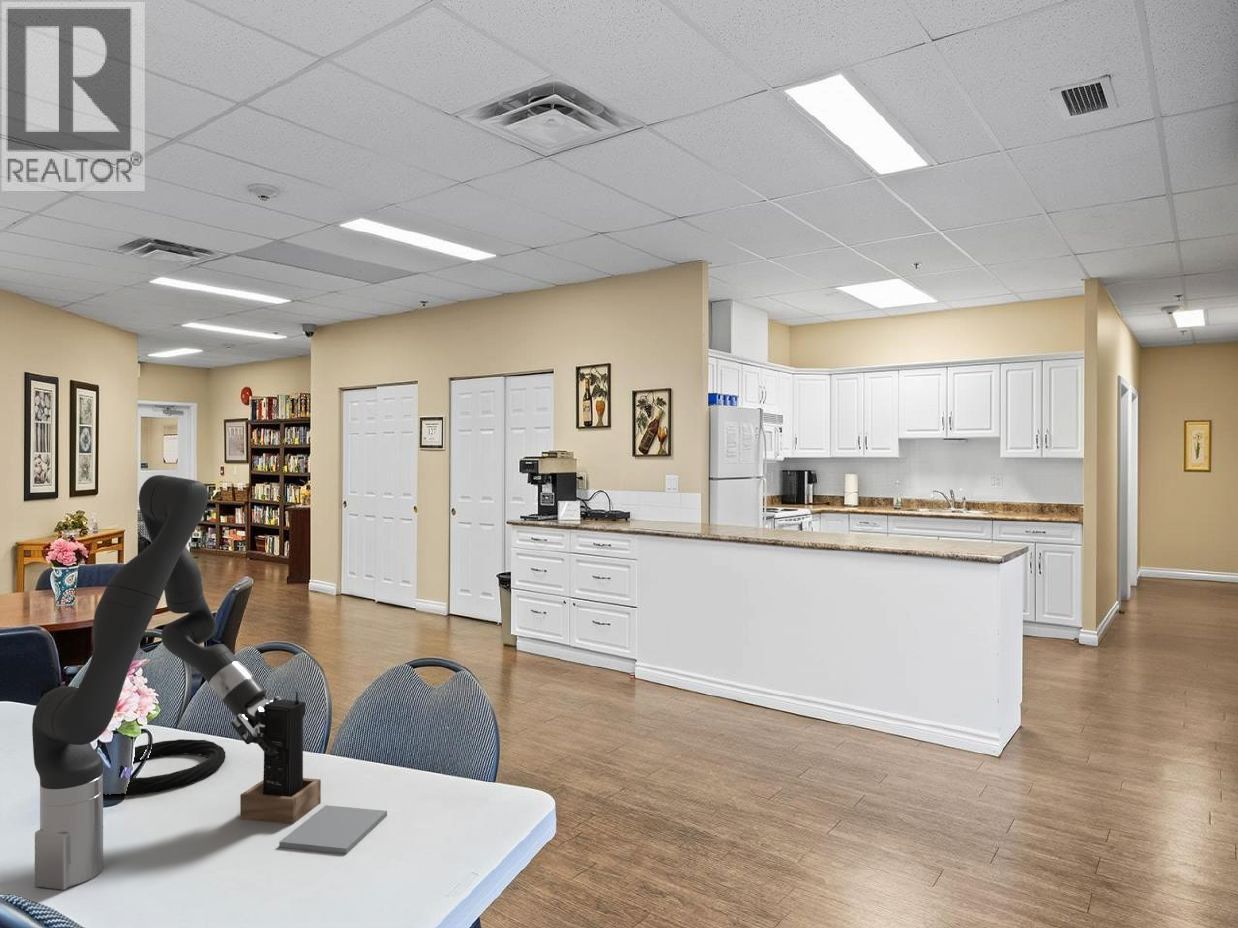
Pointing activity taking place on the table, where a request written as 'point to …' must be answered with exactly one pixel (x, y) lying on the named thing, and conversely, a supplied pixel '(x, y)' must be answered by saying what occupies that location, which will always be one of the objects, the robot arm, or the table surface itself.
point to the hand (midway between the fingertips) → (286, 745)
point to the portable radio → (284, 747)
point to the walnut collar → (280, 803)
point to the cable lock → (179, 777)
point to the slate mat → (334, 829)
